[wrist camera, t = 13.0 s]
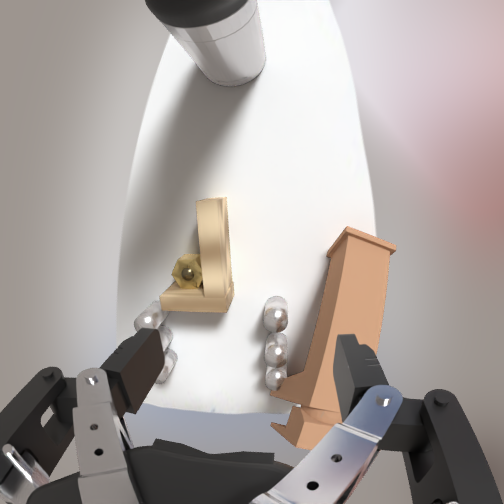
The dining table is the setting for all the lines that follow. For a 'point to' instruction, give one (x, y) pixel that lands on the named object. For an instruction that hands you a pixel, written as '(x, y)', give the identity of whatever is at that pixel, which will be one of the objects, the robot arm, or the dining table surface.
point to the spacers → (275, 342)
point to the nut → (188, 271)
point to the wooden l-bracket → (207, 264)
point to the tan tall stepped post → (330, 325)
